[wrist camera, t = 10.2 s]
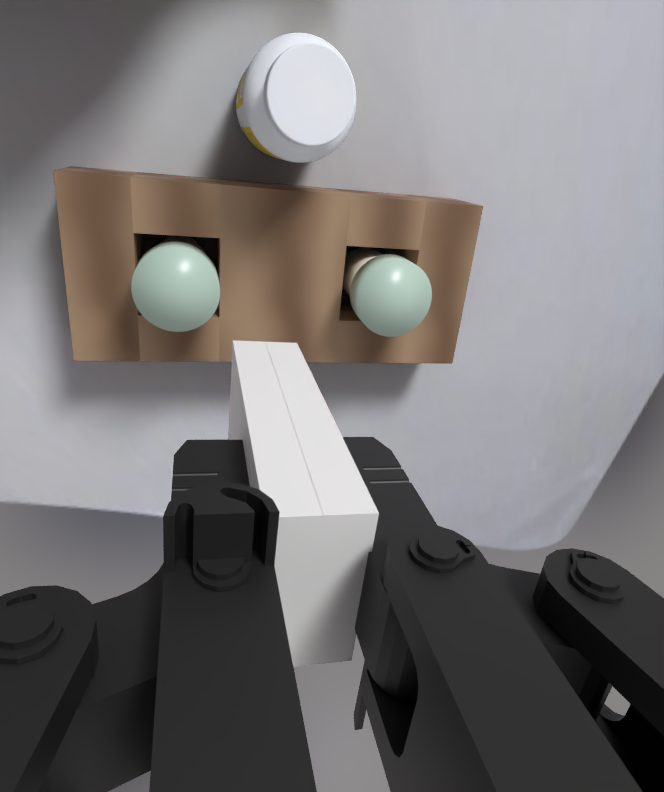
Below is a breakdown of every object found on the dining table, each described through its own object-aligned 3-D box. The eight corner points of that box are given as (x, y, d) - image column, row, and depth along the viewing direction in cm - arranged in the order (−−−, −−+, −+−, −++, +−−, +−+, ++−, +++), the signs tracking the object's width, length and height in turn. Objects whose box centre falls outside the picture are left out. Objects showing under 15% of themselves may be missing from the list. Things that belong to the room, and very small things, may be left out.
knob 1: (144, 297, 41) (133, 331, 34) (141, 224, 39) (128, 244, 32) (216, 299, 42) (219, 332, 35) (216, 229, 40) (220, 249, 33)
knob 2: (328, 303, 44) (353, 336, 37) (334, 237, 42) (362, 257, 35) (389, 305, 45) (425, 337, 38) (398, 241, 43) (438, 262, 36)
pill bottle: (321, 163, 40) (364, 173, 30) (232, 152, 38) (244, 158, 28) (332, 61, 37) (383, 33, 27) (237, 44, 36) (252, 8, 26)
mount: (86, 336, 42) (73, 360, 37) (70, 166, 37) (53, 170, 32) (428, 342, 48) (452, 363, 44) (454, 198, 43) (483, 206, 39)
